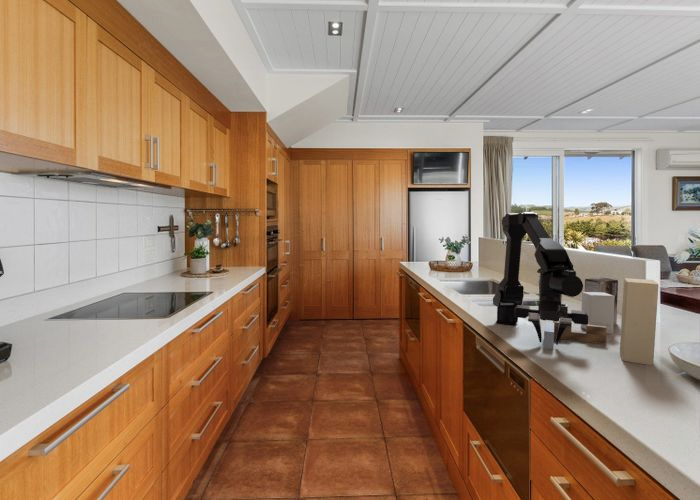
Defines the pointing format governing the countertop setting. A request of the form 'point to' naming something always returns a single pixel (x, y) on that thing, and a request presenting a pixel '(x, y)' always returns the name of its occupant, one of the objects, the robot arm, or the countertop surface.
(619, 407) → the countertop surface
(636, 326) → the beige tall block
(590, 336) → the walnut block
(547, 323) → the pale blue pillar
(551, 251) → the robot arm
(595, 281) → the coffee box
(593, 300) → the supplement box
